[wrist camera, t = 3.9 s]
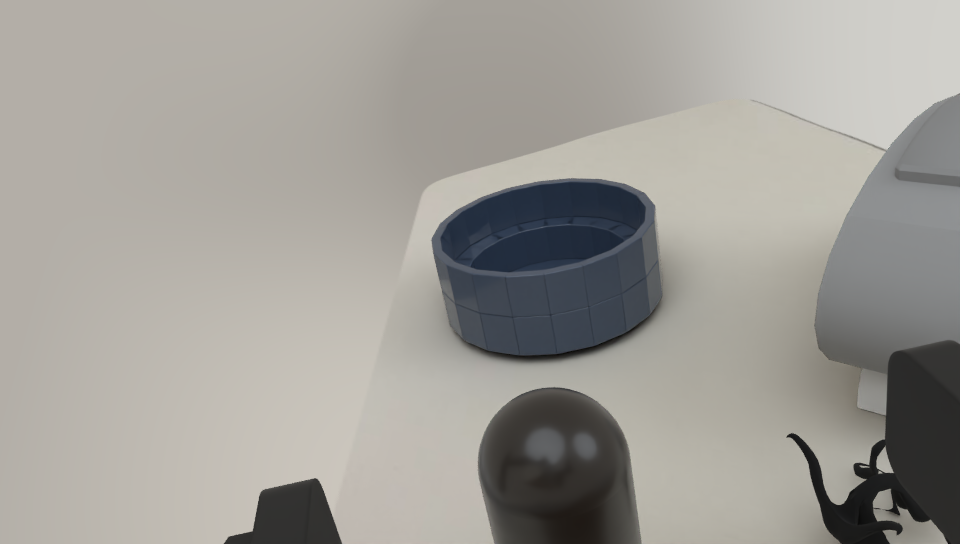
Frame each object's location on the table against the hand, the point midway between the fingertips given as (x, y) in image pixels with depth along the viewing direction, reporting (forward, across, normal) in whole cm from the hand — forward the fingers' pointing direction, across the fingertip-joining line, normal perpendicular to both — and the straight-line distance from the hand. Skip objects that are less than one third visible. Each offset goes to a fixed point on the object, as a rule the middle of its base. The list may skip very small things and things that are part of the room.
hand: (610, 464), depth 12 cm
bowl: (+40, -4, +20) cm, 45 cm away
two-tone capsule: (+11, 0, +20) cm, 23 cm away
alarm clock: (+27, -24, +20) cm, 41 cm away
